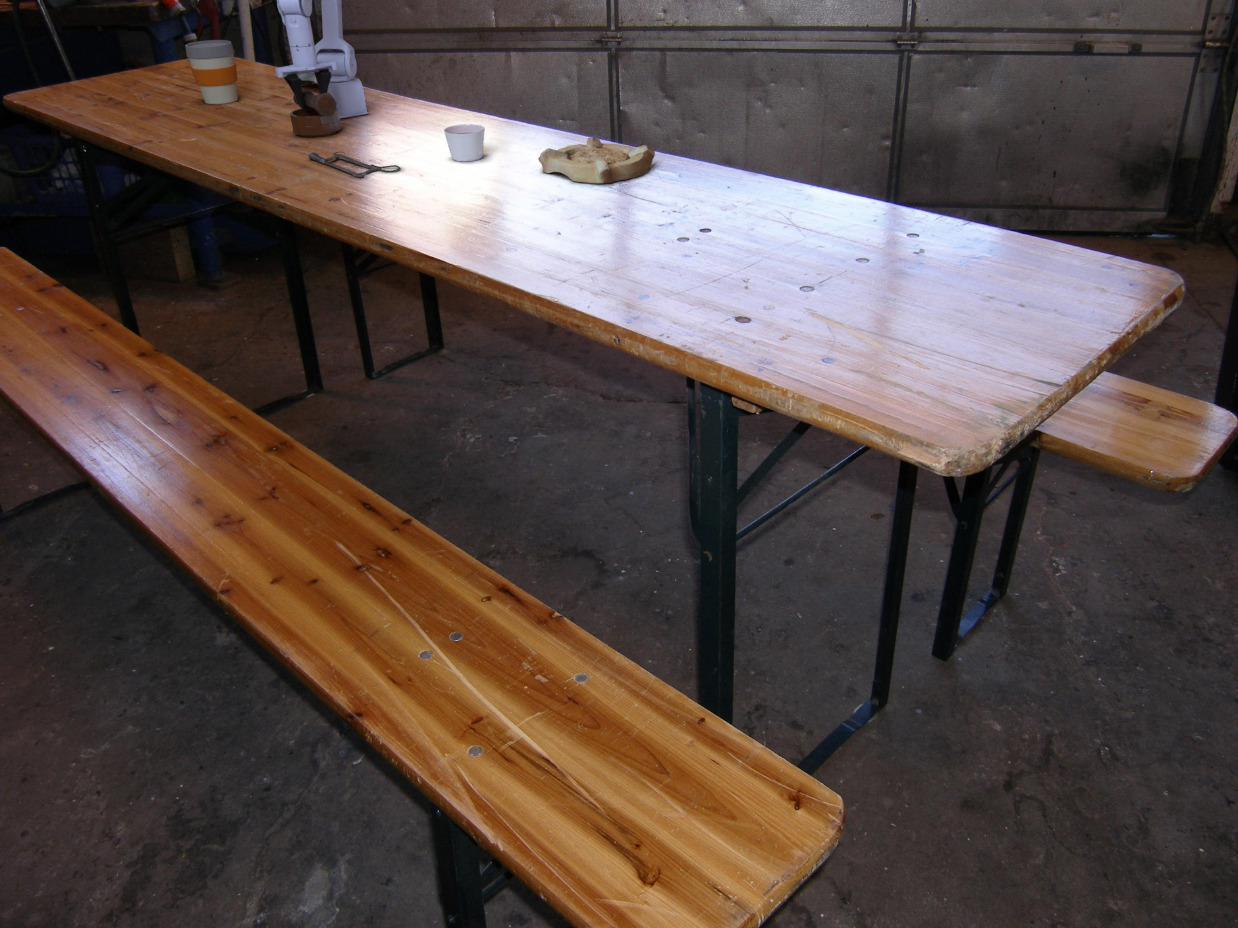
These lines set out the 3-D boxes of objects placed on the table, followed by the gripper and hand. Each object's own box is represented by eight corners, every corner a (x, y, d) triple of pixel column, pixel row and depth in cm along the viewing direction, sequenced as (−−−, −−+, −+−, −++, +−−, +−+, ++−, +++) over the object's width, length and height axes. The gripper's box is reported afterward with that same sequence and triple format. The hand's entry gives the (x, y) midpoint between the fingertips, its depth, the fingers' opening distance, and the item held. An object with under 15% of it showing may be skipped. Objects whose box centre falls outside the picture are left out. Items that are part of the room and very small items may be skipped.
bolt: (304, 113, 245) (332, 121, 235) (286, 106, 241) (313, 113, 231) (310, 90, 244) (339, 97, 234) (292, 82, 240) (320, 89, 230)
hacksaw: (306, 159, 220) (305, 153, 219) (346, 150, 226) (345, 144, 225) (363, 180, 205) (361, 173, 204) (404, 170, 211) (403, 163, 210)
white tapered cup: (471, 150, 224) (468, 122, 220) (495, 157, 218) (492, 128, 215) (439, 158, 218) (435, 129, 215) (463, 165, 213) (460, 136, 210)
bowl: (330, 124, 248) (326, 104, 245) (349, 132, 240) (345, 112, 237) (286, 131, 242) (282, 111, 240) (304, 140, 234) (300, 119, 232)
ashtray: (571, 192, 195) (570, 167, 192) (526, 164, 213) (524, 141, 210) (673, 174, 204) (673, 150, 201) (621, 149, 222) (620, 126, 219)
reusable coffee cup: (253, 98, 276) (241, 42, 268) (217, 107, 267) (204, 49, 259) (225, 94, 282) (212, 38, 274) (188, 102, 273) (174, 45, 265)
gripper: (278, 51, 224) (290, 112, 231) (337, 43, 231) (347, 103, 239) (267, 47, 229) (279, 107, 236) (325, 40, 236) (335, 98, 243)
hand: (312, 104), depth 238 cm, fingers closed on bolt, 5 cm apart
